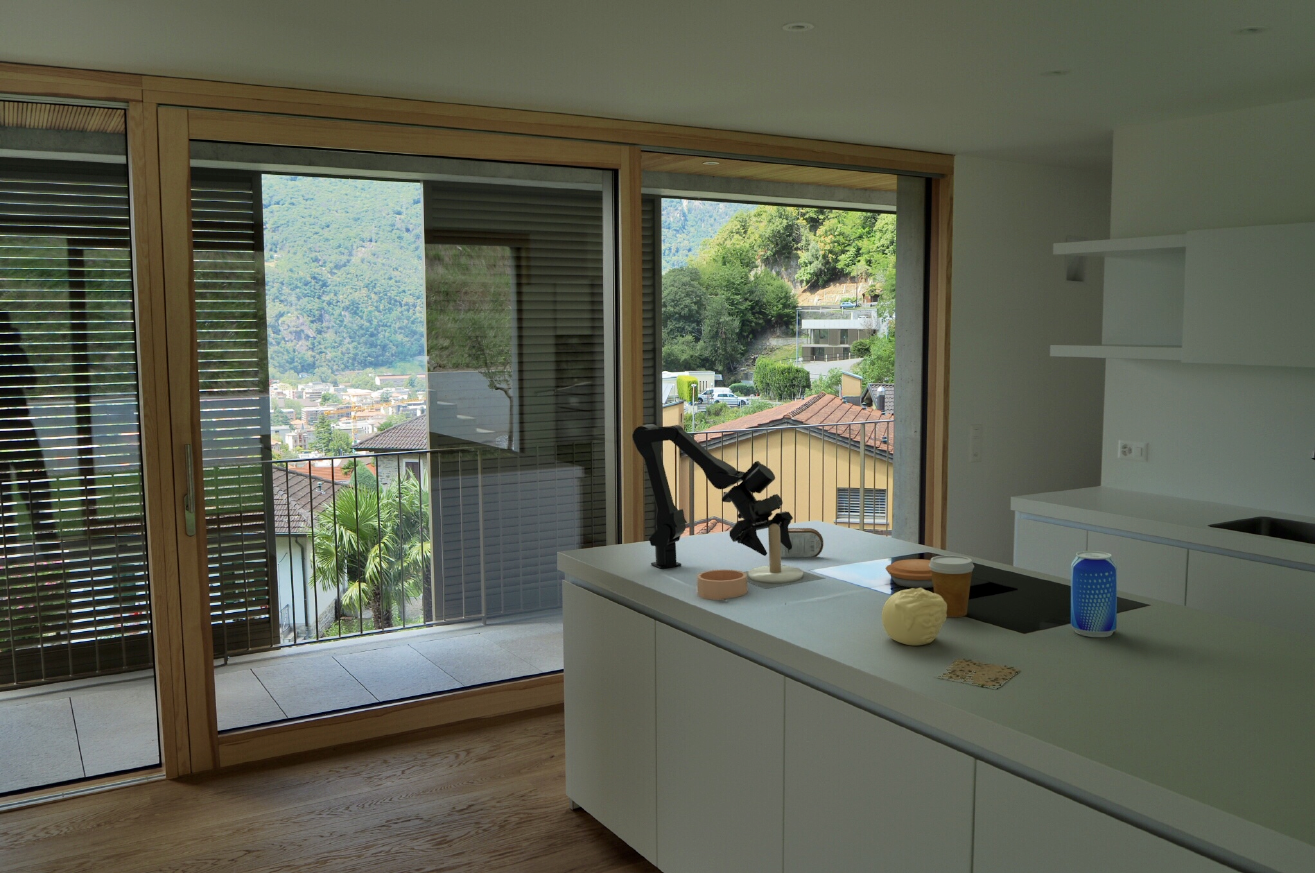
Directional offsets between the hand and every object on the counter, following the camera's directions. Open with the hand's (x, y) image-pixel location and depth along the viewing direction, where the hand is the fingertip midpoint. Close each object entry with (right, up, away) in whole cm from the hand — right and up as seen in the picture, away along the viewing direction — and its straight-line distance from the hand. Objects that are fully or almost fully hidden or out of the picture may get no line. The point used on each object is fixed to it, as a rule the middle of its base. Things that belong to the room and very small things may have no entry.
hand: (778, 551), depth 252 cm
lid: (-1, -6, +2) cm, 7 cm away
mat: (-1, -7, +2) cm, 7 cm away
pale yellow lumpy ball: (+20, -12, -54) cm, 59 cm away
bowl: (-15, -9, -11) cm, 21 cm away
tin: (+8, -5, +24) cm, 26 cm away
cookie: (+27, -14, -74) cm, 80 cm away
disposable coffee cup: (+34, -10, -36) cm, 50 cm away
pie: (+34, -7, -8) cm, 35 cm away
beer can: (+57, -10, -53) cm, 78 cm away
